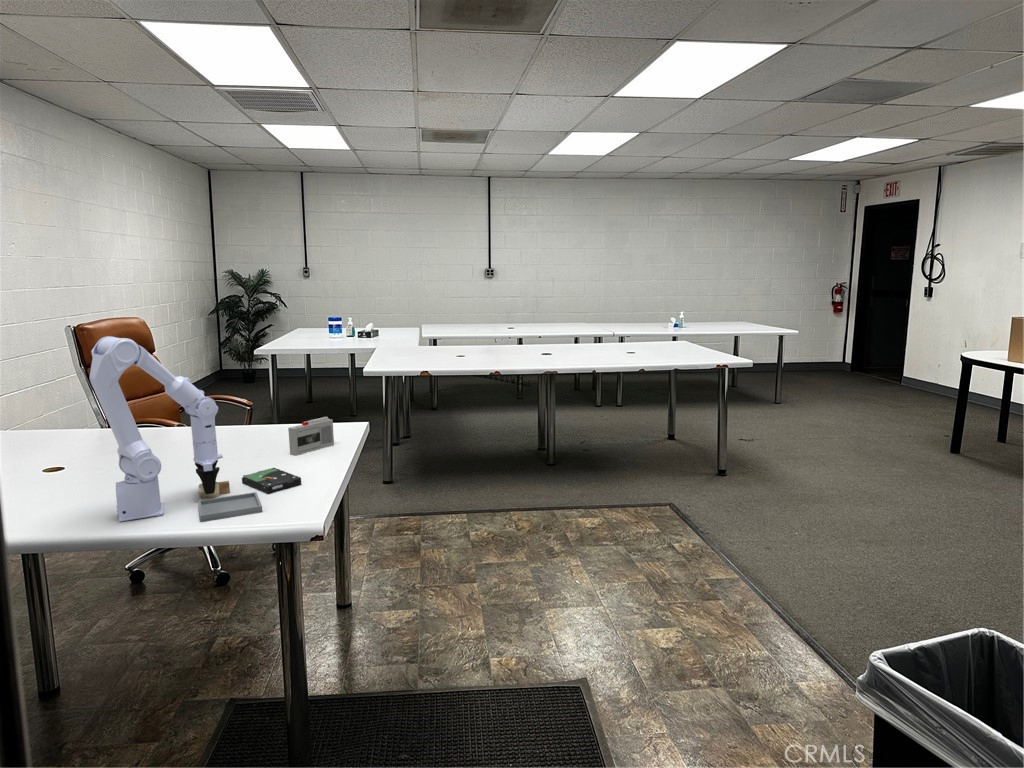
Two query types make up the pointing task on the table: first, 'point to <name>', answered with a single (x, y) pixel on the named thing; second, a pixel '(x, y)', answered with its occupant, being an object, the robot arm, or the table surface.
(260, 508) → the tray
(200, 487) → the tabbed cylinder
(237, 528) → the table surface
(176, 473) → the table surface
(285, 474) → the disk drive
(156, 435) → the table surface
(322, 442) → the cassette player
